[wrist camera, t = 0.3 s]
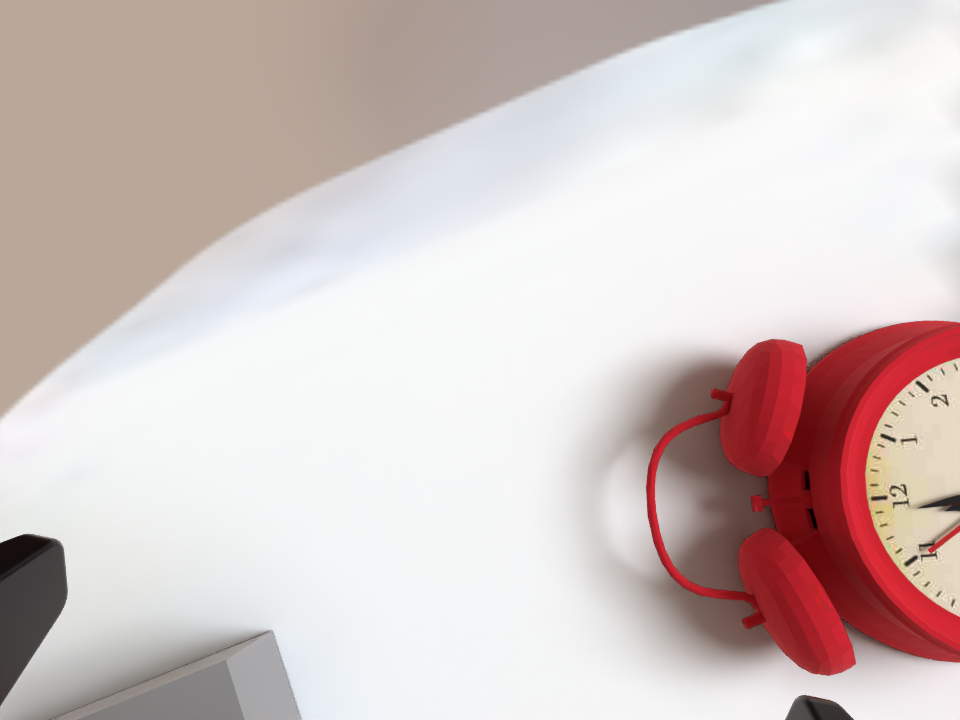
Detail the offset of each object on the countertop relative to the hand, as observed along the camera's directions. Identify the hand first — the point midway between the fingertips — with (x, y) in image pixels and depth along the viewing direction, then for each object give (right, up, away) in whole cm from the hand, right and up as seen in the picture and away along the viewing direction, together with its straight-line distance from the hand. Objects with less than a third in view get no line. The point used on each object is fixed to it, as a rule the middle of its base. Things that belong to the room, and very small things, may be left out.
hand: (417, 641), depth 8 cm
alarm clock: (+14, -1, +14) cm, 20 cm away
